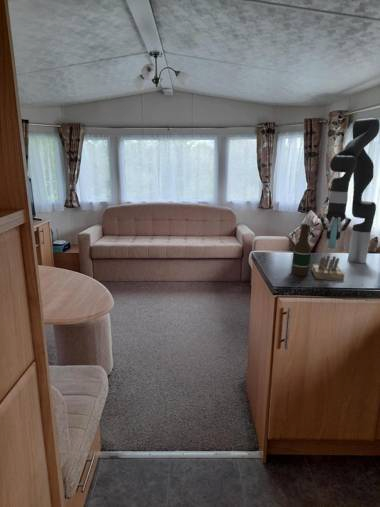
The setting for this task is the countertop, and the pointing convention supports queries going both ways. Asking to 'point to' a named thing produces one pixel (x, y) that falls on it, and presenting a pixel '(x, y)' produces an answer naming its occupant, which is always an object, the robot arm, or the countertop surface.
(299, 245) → the beer bottle
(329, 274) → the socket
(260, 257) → the countertop surface
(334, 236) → the peg
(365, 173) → the robot arm
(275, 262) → the countertop surface
